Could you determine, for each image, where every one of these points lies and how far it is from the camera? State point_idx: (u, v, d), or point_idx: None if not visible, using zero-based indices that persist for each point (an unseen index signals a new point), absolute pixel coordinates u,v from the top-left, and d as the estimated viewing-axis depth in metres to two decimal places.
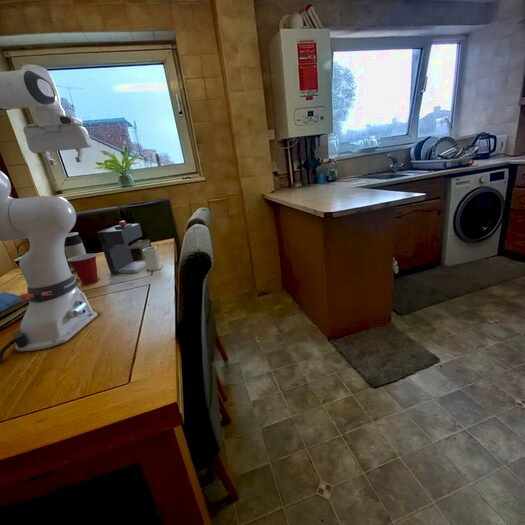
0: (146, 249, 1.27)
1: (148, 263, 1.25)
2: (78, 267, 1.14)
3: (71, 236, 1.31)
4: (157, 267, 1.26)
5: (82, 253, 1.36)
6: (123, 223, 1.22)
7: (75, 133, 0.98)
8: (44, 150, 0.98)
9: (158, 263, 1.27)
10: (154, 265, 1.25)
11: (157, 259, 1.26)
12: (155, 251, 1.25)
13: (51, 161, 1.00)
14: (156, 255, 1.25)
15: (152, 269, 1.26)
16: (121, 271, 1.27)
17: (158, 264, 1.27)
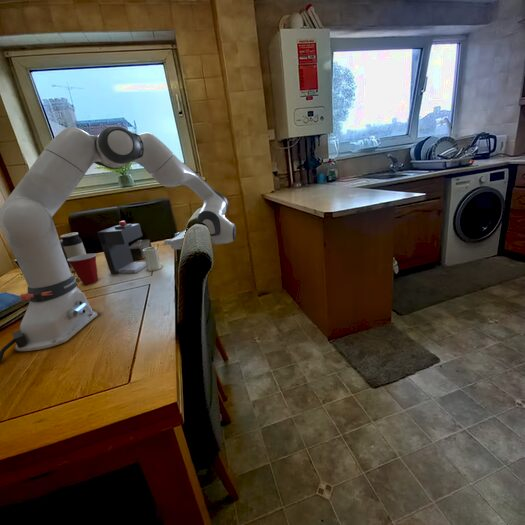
0: (146, 249, 1.27)
1: (148, 263, 1.25)
2: (78, 267, 1.14)
3: (71, 236, 1.31)
4: (157, 267, 1.26)
5: (82, 253, 1.36)
6: (123, 223, 1.22)
7: None
8: None
9: (158, 263, 1.27)
10: (154, 265, 1.25)
11: (157, 259, 1.26)
12: (155, 251, 1.25)
13: (177, 233, 1.25)
14: (156, 255, 1.25)
15: (152, 269, 1.26)
16: (121, 271, 1.27)
17: (158, 264, 1.27)
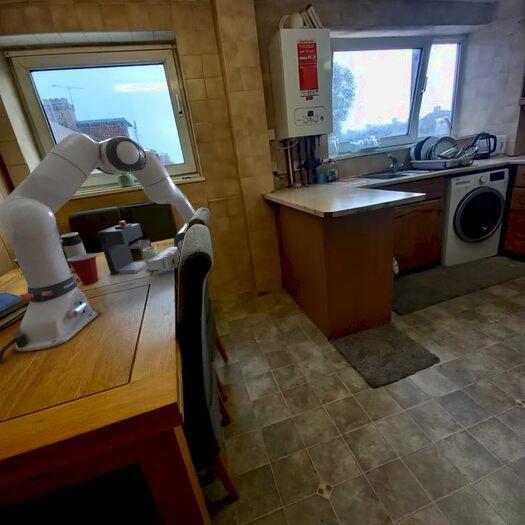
0: (146, 249, 1.27)
1: None
2: (78, 267, 1.14)
3: (71, 236, 1.31)
4: None
5: (82, 253, 1.36)
6: (123, 223, 1.22)
7: None
8: (164, 250, 1.30)
9: None
10: None
11: None
12: (155, 251, 1.25)
13: None
14: None
15: None
16: (121, 271, 1.27)
17: None
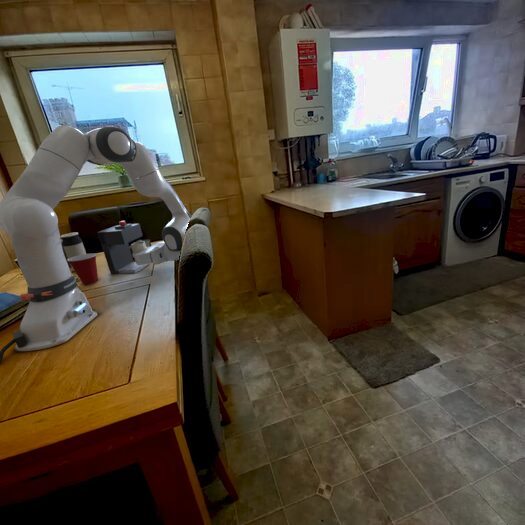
0: (135, 244, 1.27)
1: None
2: (78, 267, 1.14)
3: (71, 236, 1.31)
4: None
5: (82, 253, 1.36)
6: (123, 223, 1.22)
7: None
8: (153, 245, 1.30)
9: None
10: None
11: None
12: (143, 245, 1.25)
13: None
14: (144, 249, 1.26)
15: None
16: (121, 271, 1.27)
17: None
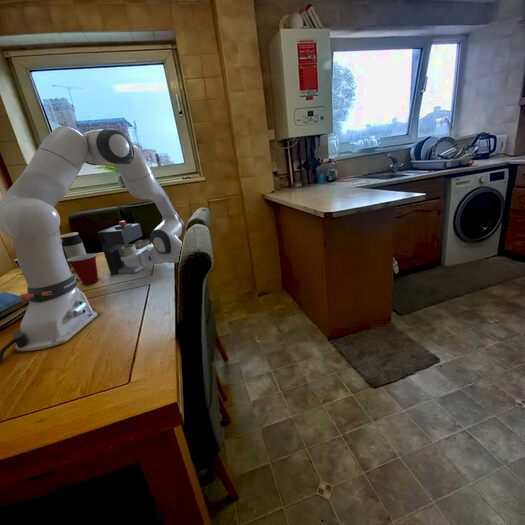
0: (125, 247, 1.29)
1: None
2: (78, 267, 1.14)
3: (71, 236, 1.31)
4: None
5: (82, 253, 1.36)
6: (123, 223, 1.22)
7: None
8: None
9: None
10: None
11: None
12: (133, 249, 1.27)
13: (136, 250, 1.32)
14: None
15: None
16: (121, 271, 1.27)
17: None
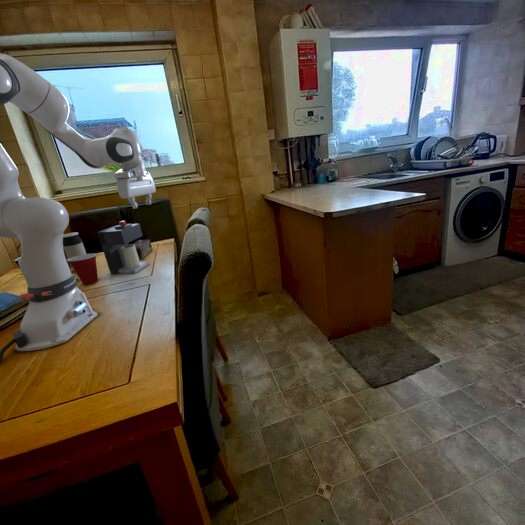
0: (125, 247, 1.29)
1: (126, 260, 1.27)
2: (78, 267, 1.14)
3: (71, 236, 1.31)
4: (135, 264, 1.29)
5: (82, 253, 1.36)
6: (123, 223, 1.22)
7: None
8: None
9: (136, 261, 1.29)
10: (132, 262, 1.27)
11: (135, 257, 1.28)
12: (133, 249, 1.27)
13: None
14: (134, 253, 1.28)
15: (130, 266, 1.28)
16: (121, 271, 1.27)
17: (136, 262, 1.29)
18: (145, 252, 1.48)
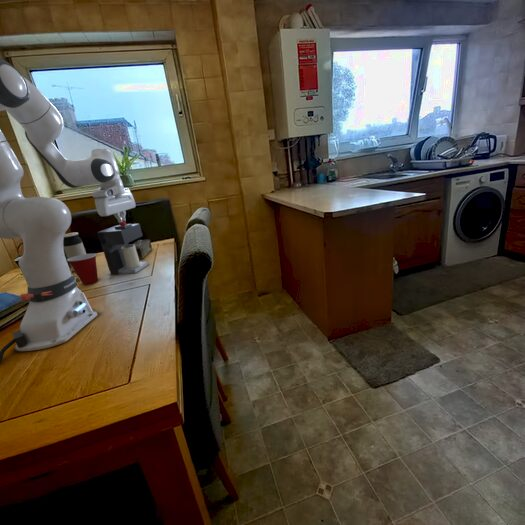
0: (125, 247, 1.29)
1: (126, 260, 1.27)
2: (78, 267, 1.14)
3: (71, 236, 1.31)
4: (135, 264, 1.29)
5: (82, 253, 1.36)
6: (123, 224, 1.23)
7: None
8: None
9: (136, 261, 1.29)
10: (132, 262, 1.27)
11: (135, 257, 1.28)
12: (133, 249, 1.27)
13: None
14: (134, 253, 1.28)
15: (130, 266, 1.28)
16: (121, 271, 1.27)
17: (136, 262, 1.29)
18: (145, 252, 1.48)
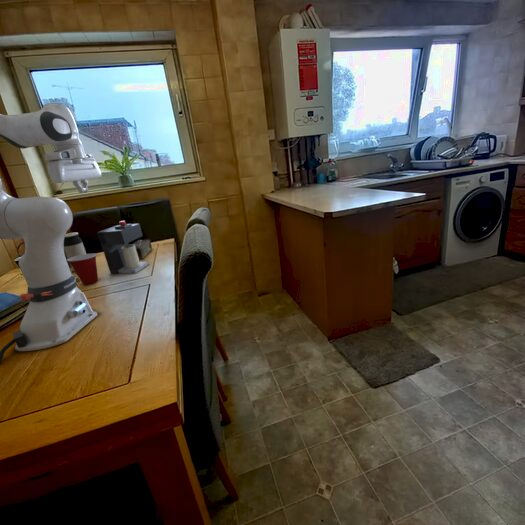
0: (125, 247, 1.29)
1: (126, 260, 1.27)
2: (78, 267, 1.14)
3: (71, 236, 1.31)
4: (135, 264, 1.29)
5: (82, 253, 1.36)
6: (123, 223, 1.22)
7: None
8: None
9: (136, 261, 1.29)
10: (132, 262, 1.27)
11: (135, 257, 1.28)
12: (133, 249, 1.27)
13: None
14: (134, 253, 1.28)
15: (130, 266, 1.28)
16: (121, 271, 1.27)
17: (136, 262, 1.29)
18: (145, 252, 1.48)
